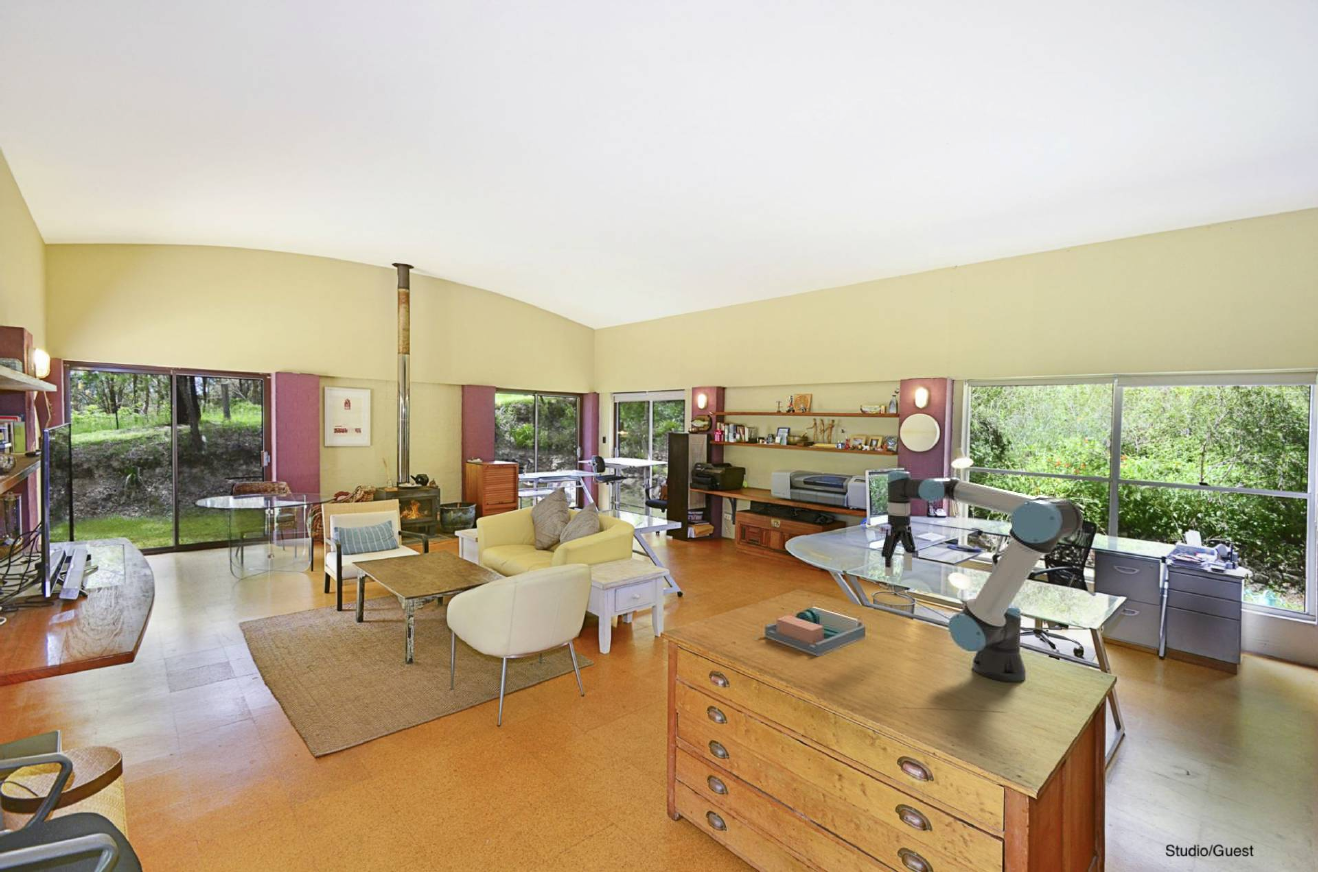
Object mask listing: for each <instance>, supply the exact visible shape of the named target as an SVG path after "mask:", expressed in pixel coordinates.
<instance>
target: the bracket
mask: <svg viewBox="0 0 1318 872" xmlns="http://www.w3.org/2000/svg"><path fill="white" fill-rule="evenodd" d="M795 616H796V618H799V619H802V620H805V621H808V622H811V623H815V624H818V625H820V617H819V614H818V613H817V611H816V610H814V609H812V607H811V608H810V607H809V608H807V609H805V610H803V611H799V612H798V613H796V615H795ZM821 626H822V625H821ZM841 633H843V632H842V631H840V630H837V629H833V628H830V627H826V626H824V639H828V638H831V637H833V636H836V635H838V634H841Z"/></svg>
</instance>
